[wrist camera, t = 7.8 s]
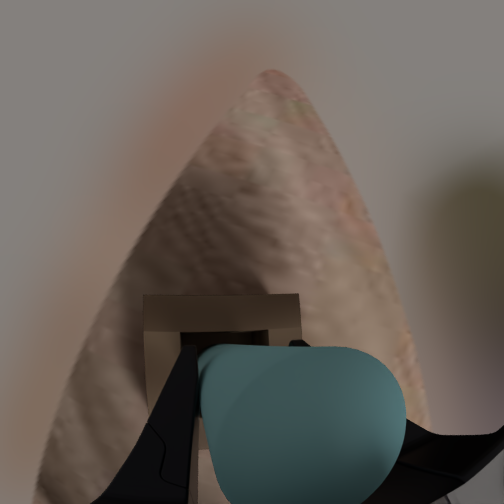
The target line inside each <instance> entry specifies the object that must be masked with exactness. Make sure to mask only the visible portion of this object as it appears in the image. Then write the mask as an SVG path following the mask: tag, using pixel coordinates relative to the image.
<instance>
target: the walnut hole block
mask: <svg viewBox="0 0 504 504" xmlns="http://www.w3.org/2000/svg"><path fill="white" fill-rule="evenodd" d="M143 332H144V361H145V379H146V392H147V404H148V414H149V416H150V414H151V412H152V410H153V408H154V406H155V404H156V401H157V399H158V397H159V395H160V393H161V391H162V389H163V387H164V385H165V383H166V380H167V378H168V376H169V374H170V372H171V370H172V368H173V366H174V364H175V362H176V360H177V358H178V356H179V354H180V351H181V349H182V347H183V346H184V345H195V346H196V348H197V356H198V354H199V353H200V352H201V351H202V350H203V349H204V348H206V347H208V346H210V345H213V344H219V343H222V344H237V345H256V346H287V347H288V346H289V342H290V341H291V340H297V339H302V329H301V315H300V302H299V294H268V295H143ZM202 449H209V446H208V442H207V438H206V433H205V429H204V424H203V420H202V415H201V410H200V419H199V448H198V450H202Z"/></svg>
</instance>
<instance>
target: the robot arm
mask: <svg viewBox="0 0 504 504" xmlns="http://www.w3.org/2000/svg"><path fill="white" fill-rule="evenodd" d="M288 347H311V346H310V345H309V344H307V343H306V342H305V341H304V340H302V339H297V340H291V341H290V342H289V346H288ZM199 419H200V405H199V369H198V359H197V348H196V346H195V345H184V346H183V347H182V349H181V351H180V354H179V356H178V358H177V360H176V362H175V364H174V366H173V368H172V370H171V372H170V374H169V376H168V378H167V380H166V383H165V385H164V387H163V389H162V391H161V393H160V395H159V397H158V399H157V401H156V404H155V406H154V408H153V410H152V412H151V414H150V416H149V418H148V421H147V423H146V425H145V427H144V429H143V431H142V433H141V435H140V437H139V439H138V441H137V443H136V445H135V446H134V448H133V450H132V451H131V453H130V455H129V456H128V458H127V459H126V461H125V462H124V464H123V465H122V467H121V468H120V470H119V471H118V473H117V474H116V476H115V477H114V479H113V480H112V482H111V483H110V485H109V486H108V488H107V489H106V490H105V491H104V492H103V493H102V495H101V496H99V497H98V498H97V499H96V500H95V501H93V502H92V503H90V504H198V448H199ZM361 504H504V425H503V426H502V427H501V428H500V429H499V430H498V431H496V432H494V433H490V434H484V435H439V434H435V433H432V432H429V431H427V430H425V429H424V428H422V427H420V426H418V425H417V424H415V423H413V422H411V421H410V420H408V419H406V429H405V435H404V440H403V444H402V447H401V450H400V453H399V455H398V458H397V460H396V462H395V464H394V466H393V467H392V469H391V471H390V473H389V474H388V475H387V477H386V478H385V480H384V481H383V482H382V484H381V485H380V486H379V487H378V488H377V489H376V490H375V491H374V492H373V493H372V494H371V495H370V496H369V497H368V498H367V499H366V500H365V501H363V502H362V503H361Z"/></svg>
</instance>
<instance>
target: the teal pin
mask: <svg viewBox="0 0 504 504" xmlns="http://www.w3.org/2000/svg"><path fill="white" fill-rule="evenodd" d="M197 359H198V369H199V405H200V410H201V415H202V420H203V424H204V429H205V433H206V438H207V442H208V446H209V450H210V454H211V458H212V462H213V466H214V470H215V474H216V478H217V480H218V483H219V485H220V488H221V490H222V492H223V493H224V495H225V497H226V498H227V499H228V501H229V502H230V503H231V504H361V503H362V502H363V501H365V500H366V499H367V498H368V497H369V496H370V495H371V494H372V493H373V492H374V491H375V490H376V489H377V488H378V487H379V486H380V485H381V484H382V482H383V481H384V480H385V478H386V477H387V475H388V474H389V473H390V471H391V469H392V467H393V466H394V464H395V462H396V460H397V458H398V455H399V453H400V450H401V447H402V444H403V440H404V435H405V429H406V407H405V401H404V397H403V394H402V391H401V388H400V386H399V384H398V382H397V380H396V379H395V377H394V376H393V374H392V373H391V372H390V371H389V369H388V368H387V367H386V366H385V365H384V364H382V363H381V362H380V361H379V360H378V359H376V358H374V357H373V356H371V355H369V354H367V353H364V352H362V351H359V350H356V349H351V348H347V347H335V346H334V347H287V346H256V345H237V344H222V343H219V344H213V345H210V346H208V347H206V348H204V349H203V350H202V351H201V352H200V353H199V354H198V356H197Z"/></svg>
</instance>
